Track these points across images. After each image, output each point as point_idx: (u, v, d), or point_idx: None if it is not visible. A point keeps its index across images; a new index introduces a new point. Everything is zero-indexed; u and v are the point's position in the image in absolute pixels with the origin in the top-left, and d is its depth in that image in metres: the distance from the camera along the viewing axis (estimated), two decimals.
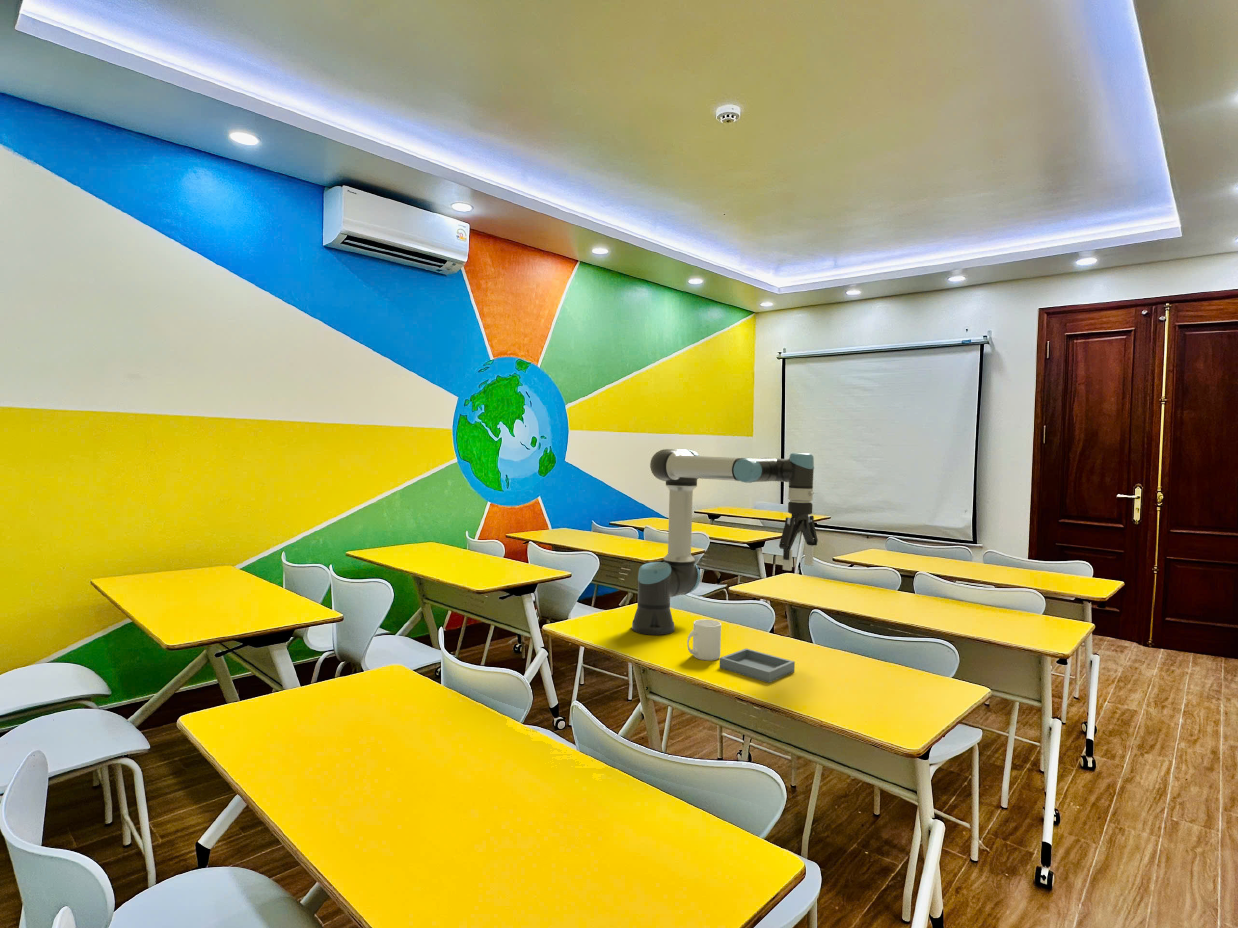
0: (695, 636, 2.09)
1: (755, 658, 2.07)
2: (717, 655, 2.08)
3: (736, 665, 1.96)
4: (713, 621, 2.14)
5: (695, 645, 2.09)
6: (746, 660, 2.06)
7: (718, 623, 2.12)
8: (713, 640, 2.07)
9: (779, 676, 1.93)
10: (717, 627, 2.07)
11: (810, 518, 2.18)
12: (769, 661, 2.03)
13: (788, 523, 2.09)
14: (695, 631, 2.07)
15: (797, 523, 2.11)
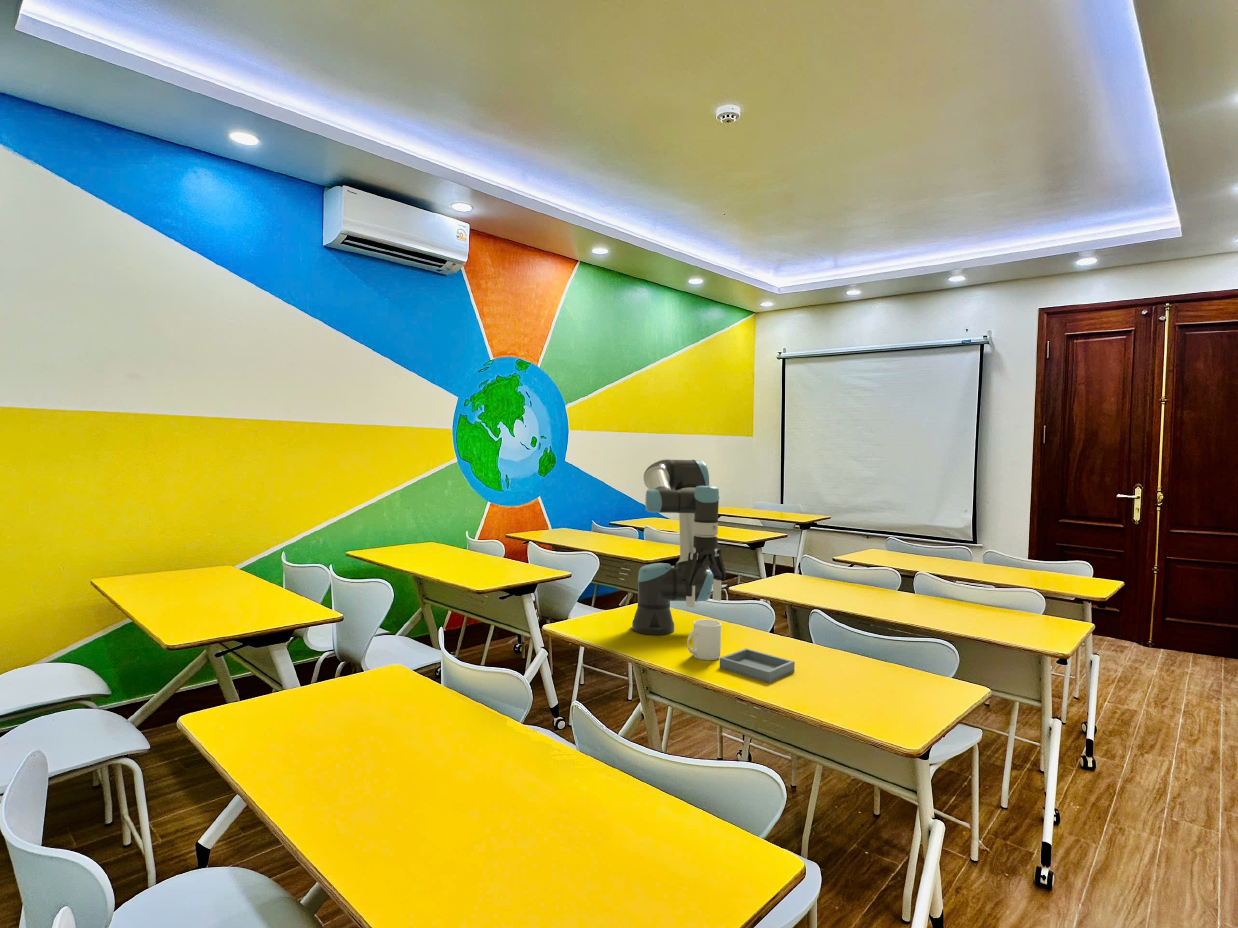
0: (695, 636, 2.09)
1: (755, 658, 2.07)
2: (717, 655, 2.08)
3: (736, 665, 1.96)
4: (713, 621, 2.14)
5: (695, 645, 2.09)
6: (746, 660, 2.06)
7: (718, 623, 2.12)
8: (713, 640, 2.07)
9: (779, 676, 1.93)
10: (717, 627, 2.07)
11: (717, 552, 2.12)
12: (769, 661, 2.03)
13: (691, 558, 2.04)
14: (695, 631, 2.07)
15: (701, 558, 2.06)
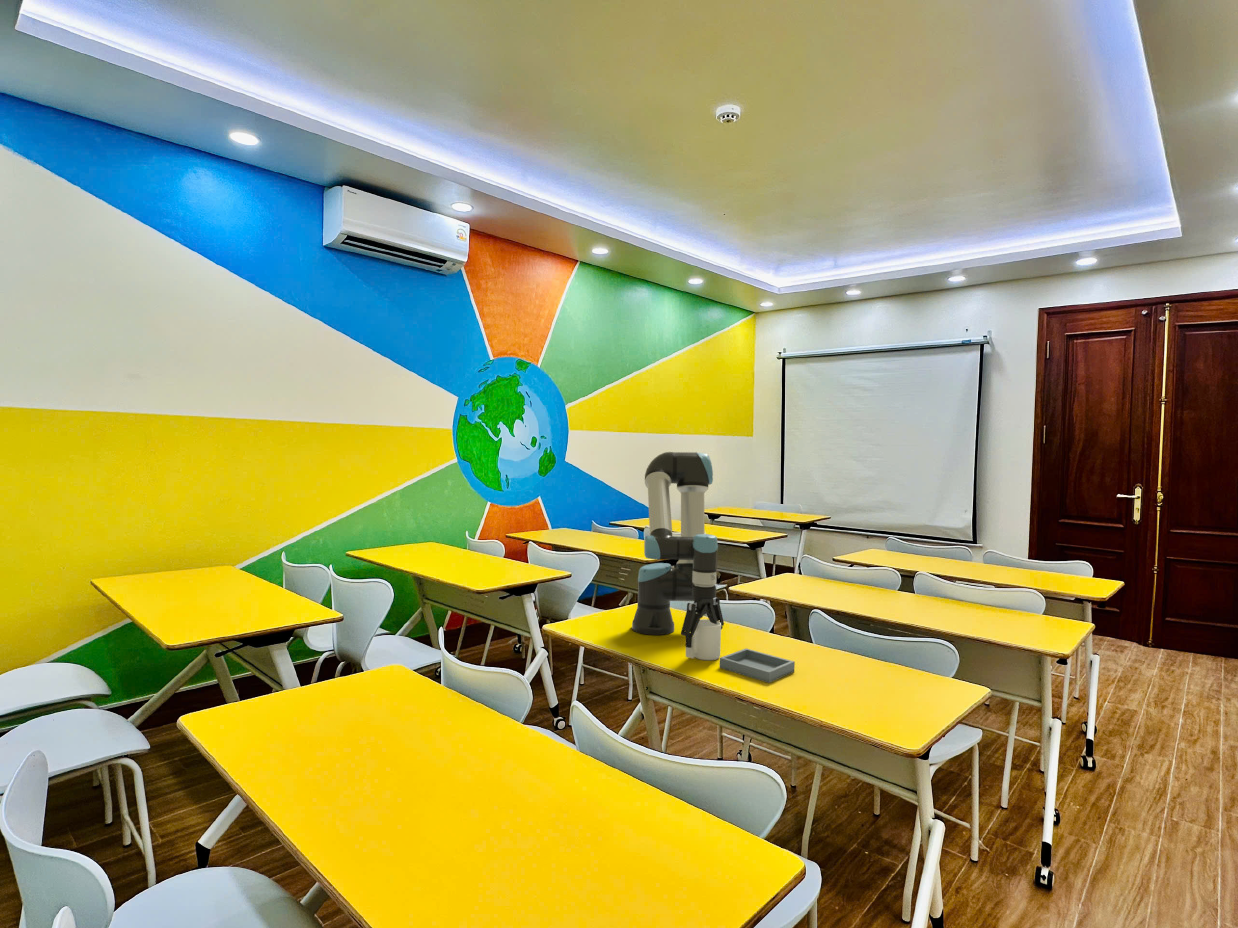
0: (695, 636, 2.09)
1: (755, 658, 2.07)
2: (717, 655, 2.08)
3: (736, 665, 1.96)
4: None
5: (695, 645, 2.09)
6: (746, 660, 2.06)
7: (718, 623, 2.12)
8: (713, 640, 2.07)
9: (779, 676, 1.93)
10: (717, 627, 2.07)
11: (716, 600, 2.13)
12: (769, 661, 2.03)
13: (690, 609, 2.05)
14: (695, 631, 2.07)
15: (700, 608, 2.06)
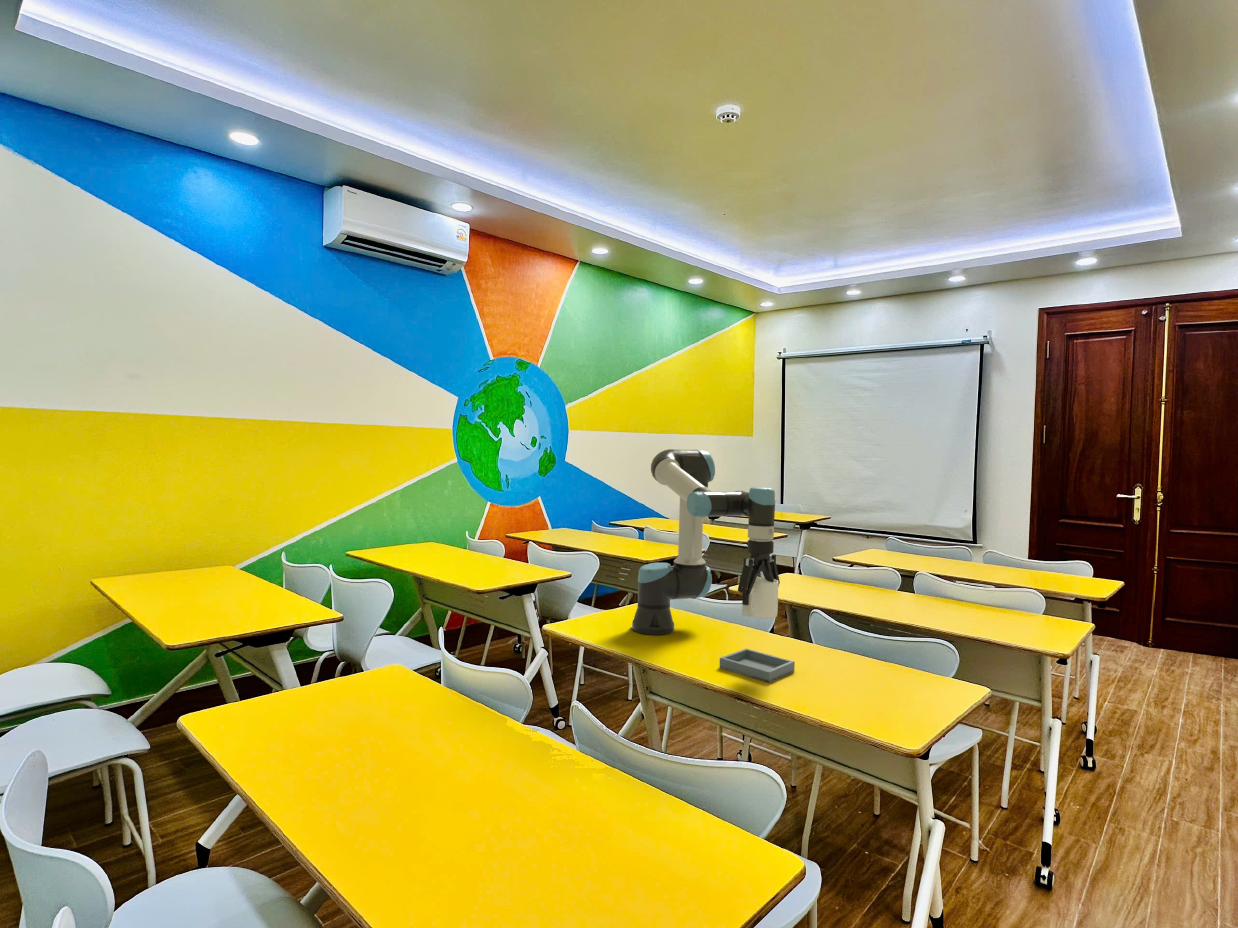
0: None
1: (755, 658, 2.07)
2: (775, 614, 1.97)
3: (736, 665, 1.96)
4: None
5: None
6: (746, 660, 2.06)
7: (775, 581, 2.01)
8: (771, 598, 1.96)
9: (779, 676, 1.93)
10: (775, 584, 1.96)
11: (772, 557, 2.02)
12: (769, 661, 2.03)
13: (747, 565, 1.94)
14: (752, 588, 1.96)
15: (757, 563, 1.96)
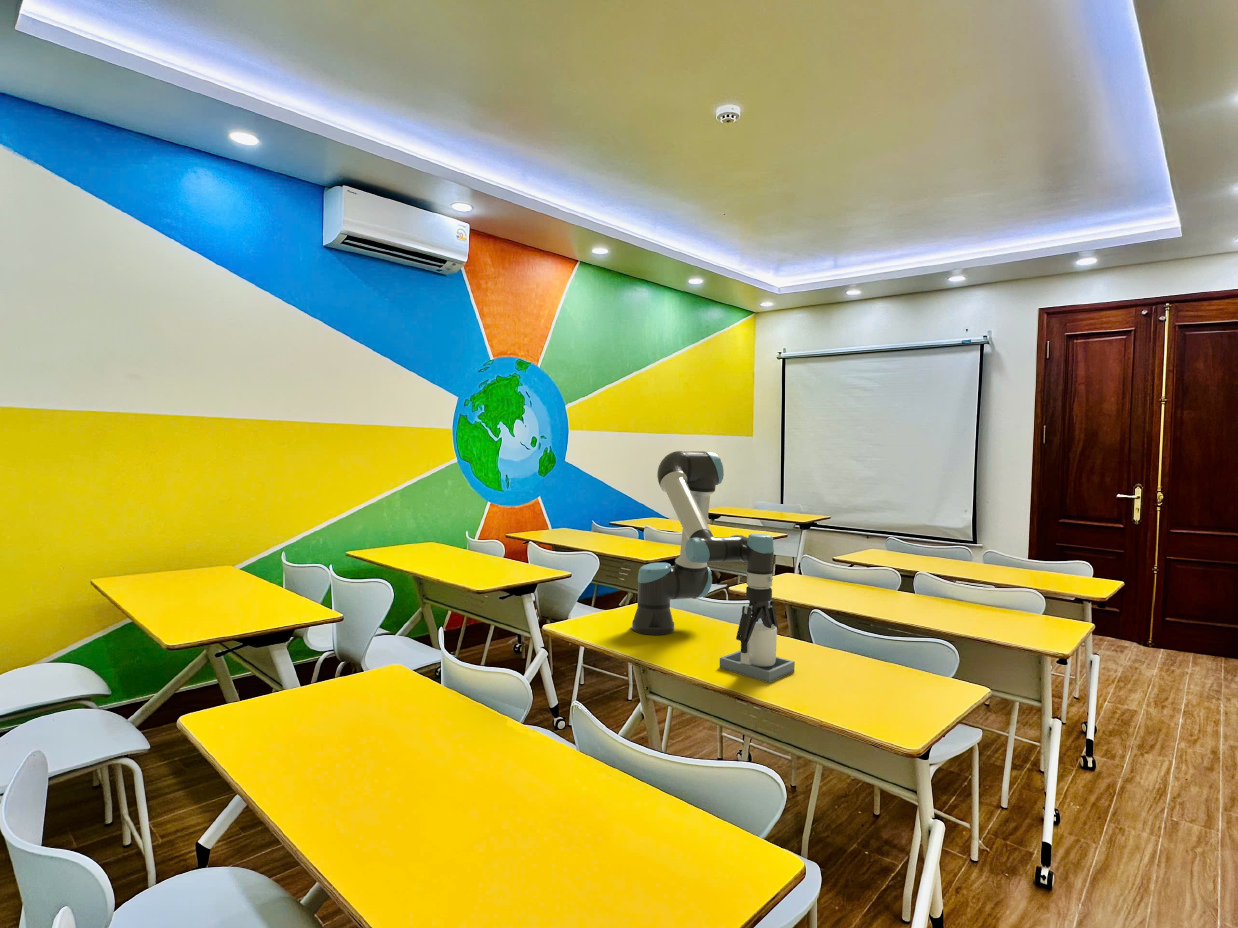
0: (750, 641, 1.98)
1: None
2: (773, 661, 1.97)
3: (736, 665, 1.96)
4: None
5: (750, 650, 1.98)
6: None
7: (773, 627, 2.01)
8: (770, 645, 1.96)
9: (779, 676, 1.93)
10: (773, 631, 1.97)
11: (770, 603, 2.02)
12: None
13: (745, 613, 1.94)
14: None
15: (755, 611, 1.96)
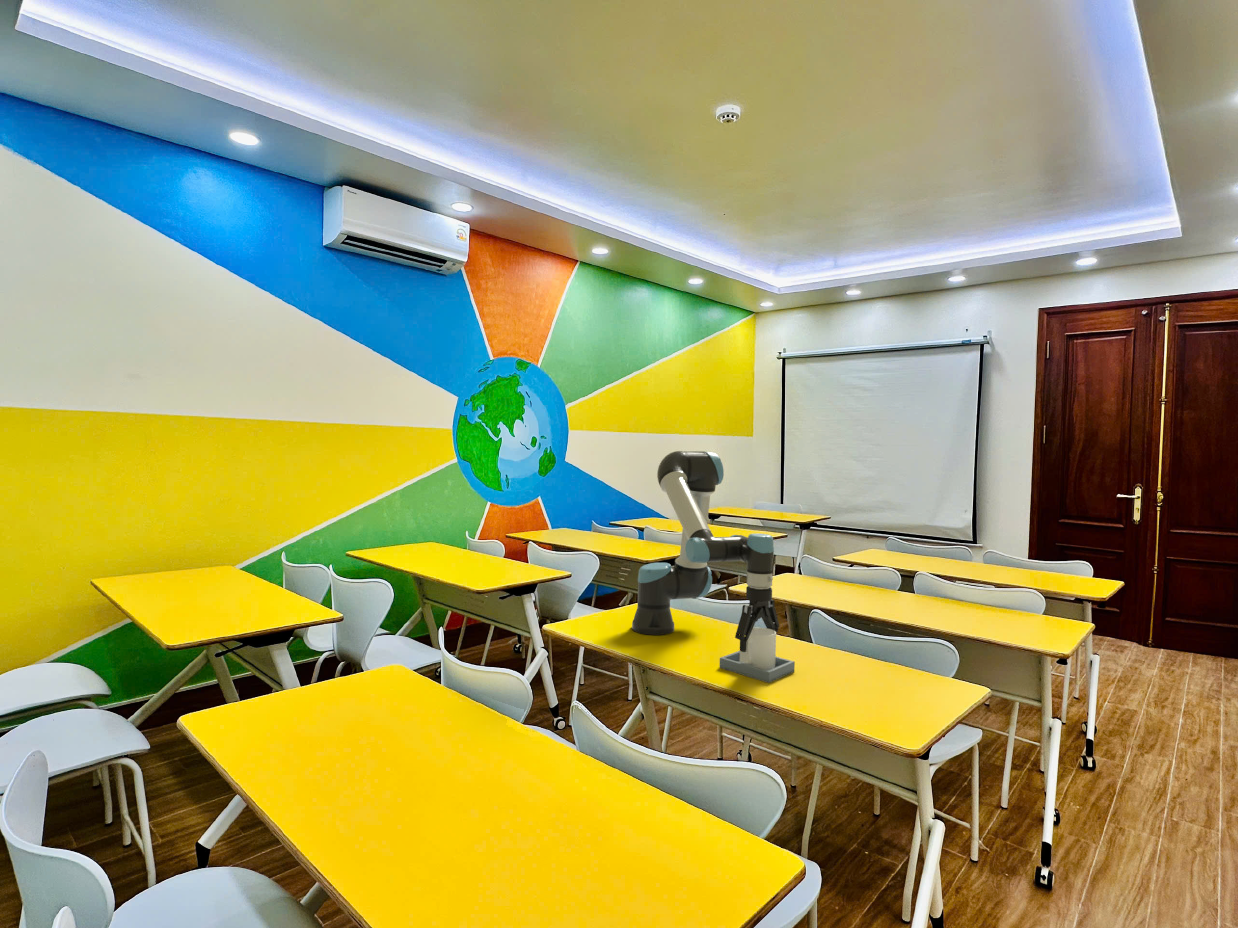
0: (749, 645, 1.98)
1: None
2: (772, 665, 1.97)
3: (736, 665, 1.96)
4: (767, 629, 2.03)
5: (749, 655, 1.98)
6: None
7: (772, 631, 2.01)
8: (769, 650, 1.96)
9: (779, 676, 1.93)
10: (772, 636, 1.97)
11: (770, 603, 2.02)
12: None
13: (745, 612, 1.94)
14: (749, 640, 1.97)
15: (755, 611, 1.96)
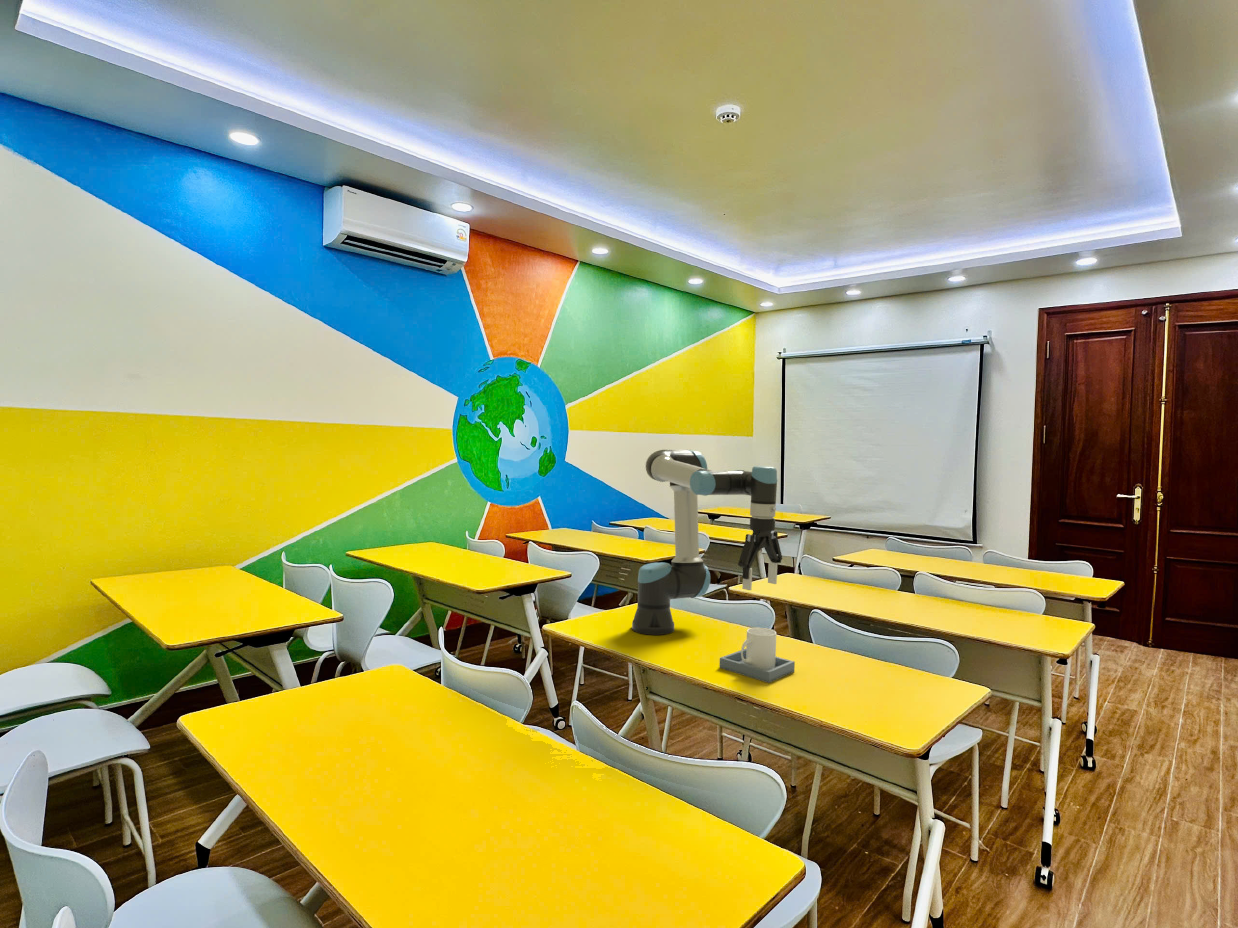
0: (749, 645, 1.98)
1: None
2: (772, 665, 1.97)
3: (736, 665, 1.96)
4: (767, 629, 2.03)
5: (749, 655, 1.98)
6: None
7: (772, 631, 2.01)
8: (769, 650, 1.96)
9: (779, 676, 1.93)
10: (773, 636, 1.97)
11: (774, 534, 2.07)
12: None
13: (748, 540, 1.99)
14: (749, 640, 1.97)
15: (758, 540, 2.01)
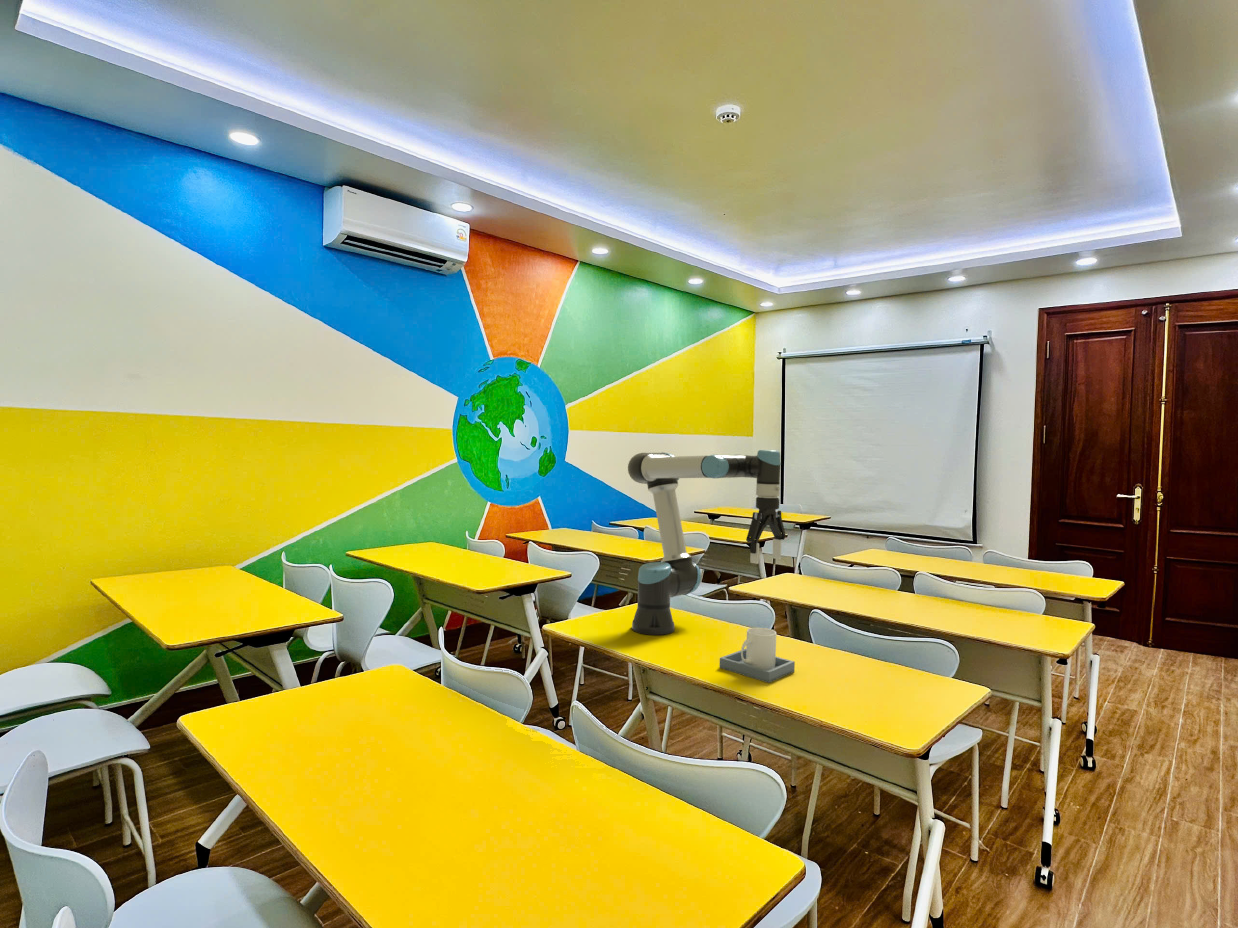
0: (749, 645, 1.98)
1: None
2: (772, 665, 1.97)
3: (736, 665, 1.96)
4: (767, 629, 2.03)
5: (749, 655, 1.98)
6: None
7: (772, 632, 2.01)
8: (769, 650, 1.96)
9: (779, 676, 1.93)
10: (773, 636, 1.97)
11: (778, 513, 2.24)
12: None
13: (755, 518, 2.16)
14: (749, 640, 1.97)
15: (764, 518, 2.18)
